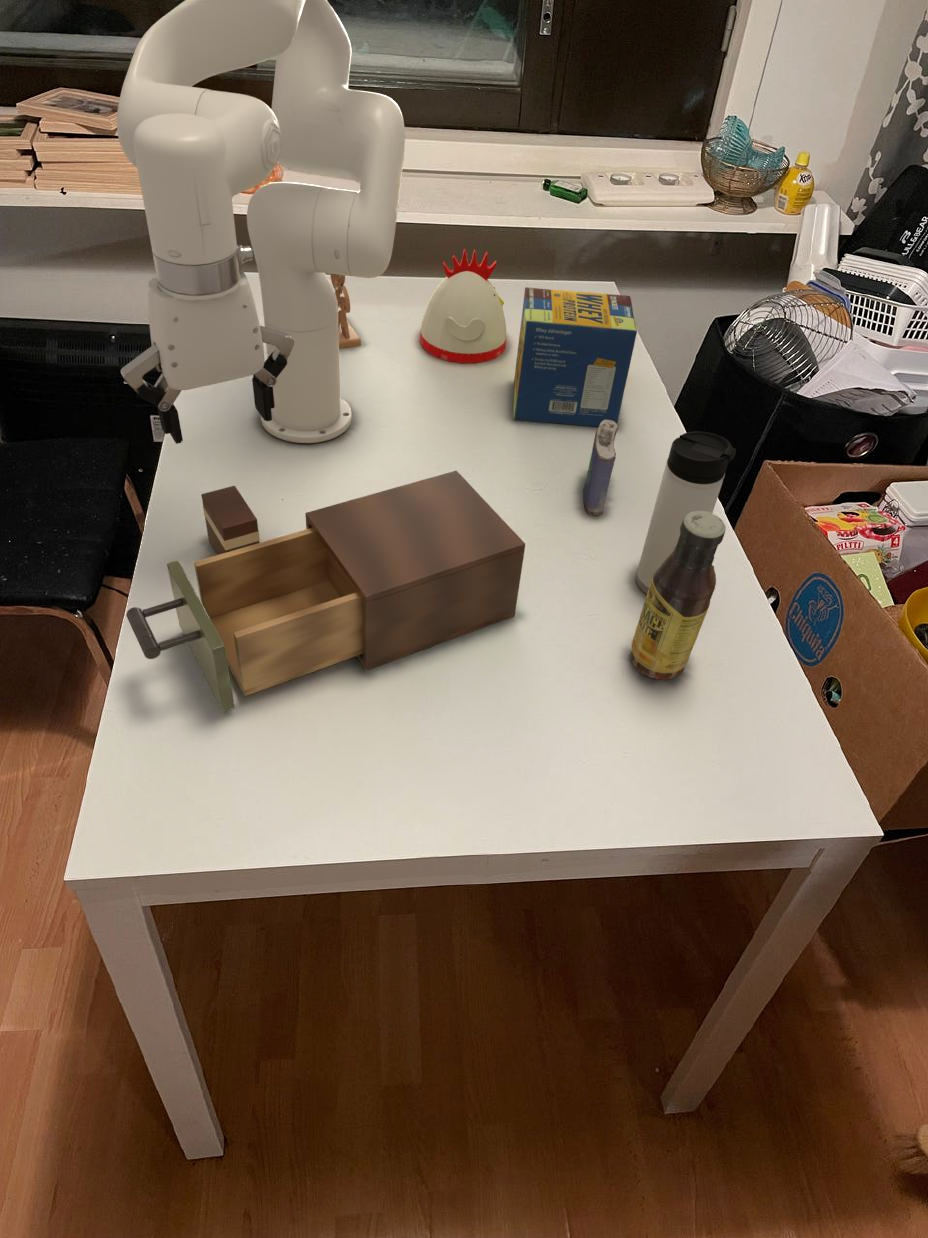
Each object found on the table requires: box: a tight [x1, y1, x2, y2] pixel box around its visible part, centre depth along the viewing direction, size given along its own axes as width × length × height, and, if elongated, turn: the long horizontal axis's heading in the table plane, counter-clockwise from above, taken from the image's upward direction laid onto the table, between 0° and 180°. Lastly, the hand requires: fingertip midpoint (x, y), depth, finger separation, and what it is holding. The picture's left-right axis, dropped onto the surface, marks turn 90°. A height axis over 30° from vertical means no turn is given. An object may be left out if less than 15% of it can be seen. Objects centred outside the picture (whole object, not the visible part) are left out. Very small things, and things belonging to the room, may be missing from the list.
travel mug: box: [635, 431, 737, 595], centre depth 103 cm, size 6×7×20 cm
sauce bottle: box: [630, 511, 726, 681], centre depth 93 cm, size 6×6×20 cm
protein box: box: [512, 286, 638, 428], centre depth 132 cm, size 10×15×16 cm
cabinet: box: [305, 470, 526, 671], centre depth 101 cm, size 19×15×11 cm
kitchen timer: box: [419, 248, 507, 364], centre depth 144 cm, size 14×14×15 cm
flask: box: [582, 420, 619, 516], centre depth 118 cm, size 9×3×11 cm, turn 172°
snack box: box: [200, 485, 261, 555], centre depth 106 cm, size 4×7×7 cm, turn 31°
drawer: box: [125, 528, 363, 712], centre depth 93 cm, size 23×13×9 cm, turn 121°
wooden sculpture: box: [329, 273, 362, 349], centre depth 144 cm, size 9×4×12 cm, turn 25°
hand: (220, 425), depth 97 cm, fingers open, 9 cm apart
